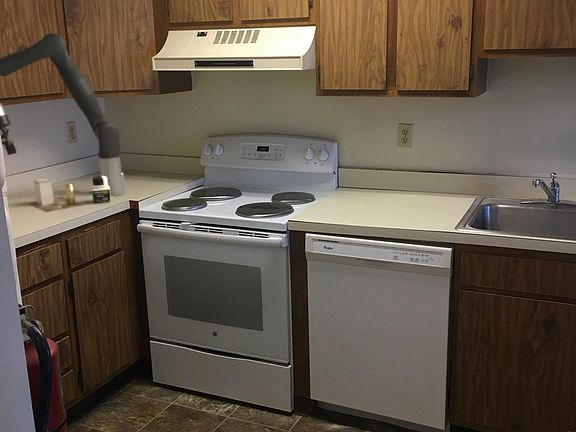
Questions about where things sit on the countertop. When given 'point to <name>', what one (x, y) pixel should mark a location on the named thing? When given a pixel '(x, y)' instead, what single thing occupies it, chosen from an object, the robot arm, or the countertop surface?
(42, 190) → the cover
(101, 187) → the medicine bottle
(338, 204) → the countertop surface
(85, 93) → the robot arm
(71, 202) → the brass pin
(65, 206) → the board
